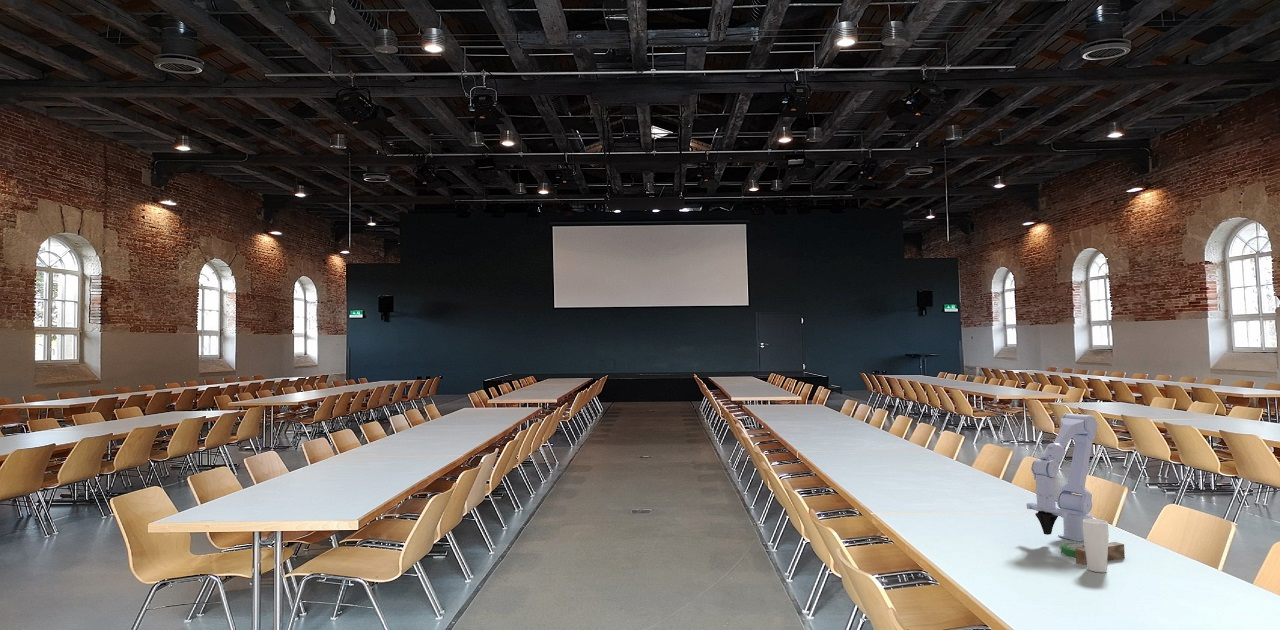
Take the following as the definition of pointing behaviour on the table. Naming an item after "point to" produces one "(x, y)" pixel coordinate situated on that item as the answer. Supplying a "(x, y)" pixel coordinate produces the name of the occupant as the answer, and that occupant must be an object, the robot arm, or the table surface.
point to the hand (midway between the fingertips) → (1047, 534)
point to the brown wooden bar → (1113, 553)
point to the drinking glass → (1096, 544)
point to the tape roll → (1070, 549)
